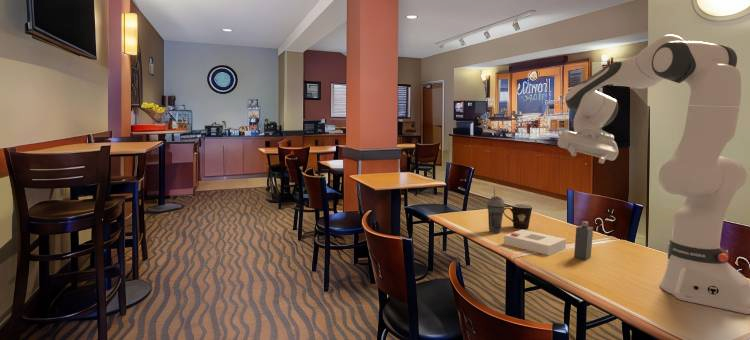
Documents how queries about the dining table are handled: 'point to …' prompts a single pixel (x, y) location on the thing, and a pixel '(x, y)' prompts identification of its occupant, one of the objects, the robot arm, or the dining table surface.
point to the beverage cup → (495, 213)
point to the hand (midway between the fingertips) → (587, 158)
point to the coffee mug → (520, 215)
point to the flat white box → (535, 242)
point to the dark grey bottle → (583, 241)
